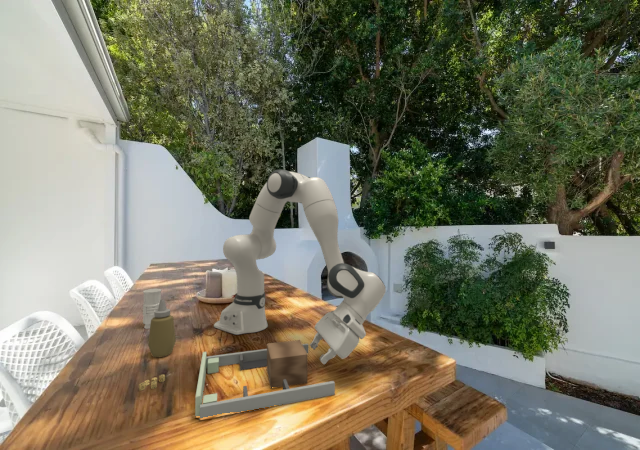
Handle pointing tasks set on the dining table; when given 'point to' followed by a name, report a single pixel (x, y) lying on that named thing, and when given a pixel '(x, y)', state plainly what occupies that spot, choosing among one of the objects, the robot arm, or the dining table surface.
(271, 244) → the robot arm
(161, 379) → the dice set
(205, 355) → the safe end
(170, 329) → the squeeze bottle
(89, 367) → the dining table surface
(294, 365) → the walnut block
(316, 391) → the grey u-shaped frame
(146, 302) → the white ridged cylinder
